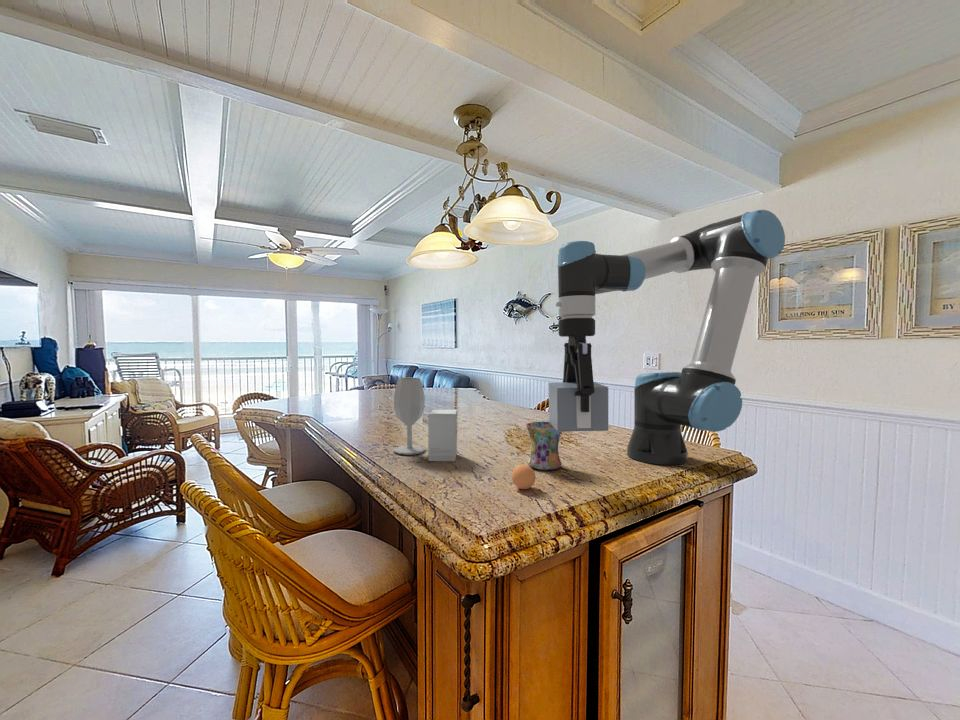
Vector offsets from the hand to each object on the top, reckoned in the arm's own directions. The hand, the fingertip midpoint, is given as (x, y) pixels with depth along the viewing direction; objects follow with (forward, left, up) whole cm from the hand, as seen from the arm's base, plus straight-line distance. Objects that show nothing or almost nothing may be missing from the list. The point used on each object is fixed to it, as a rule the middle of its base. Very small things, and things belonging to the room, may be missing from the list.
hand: (577, 422), depth 89 cm
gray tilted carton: (0, 0, -1) cm, 1 cm away
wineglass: (+40, -30, -14) cm, 52 cm away
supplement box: (+30, -24, -14) cm, 41 cm away
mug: (+4, -17, -14) cm, 23 cm away
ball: (+11, 0, -12) cm, 16 cm away
